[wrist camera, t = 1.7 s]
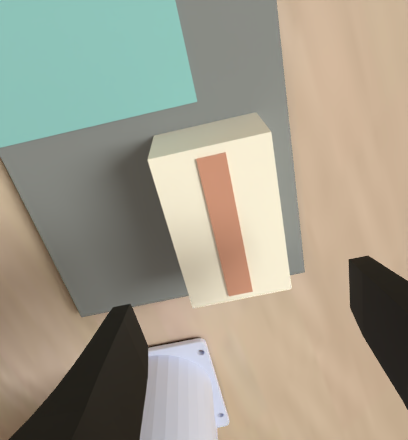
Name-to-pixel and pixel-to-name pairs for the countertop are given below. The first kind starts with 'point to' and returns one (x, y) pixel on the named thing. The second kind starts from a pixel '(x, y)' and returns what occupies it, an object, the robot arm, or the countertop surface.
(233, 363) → the countertop surface
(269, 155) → the card box
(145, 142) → the mat
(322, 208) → the countertop surface
